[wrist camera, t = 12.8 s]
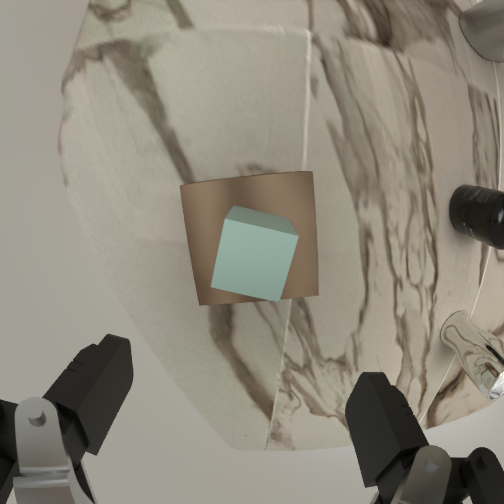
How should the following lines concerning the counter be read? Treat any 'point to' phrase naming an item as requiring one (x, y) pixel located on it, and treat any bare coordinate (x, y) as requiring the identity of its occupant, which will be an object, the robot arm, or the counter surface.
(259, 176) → the walnut base
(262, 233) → the sage block
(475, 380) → the beer glass
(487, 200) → the supplement bottle
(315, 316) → the counter surface
